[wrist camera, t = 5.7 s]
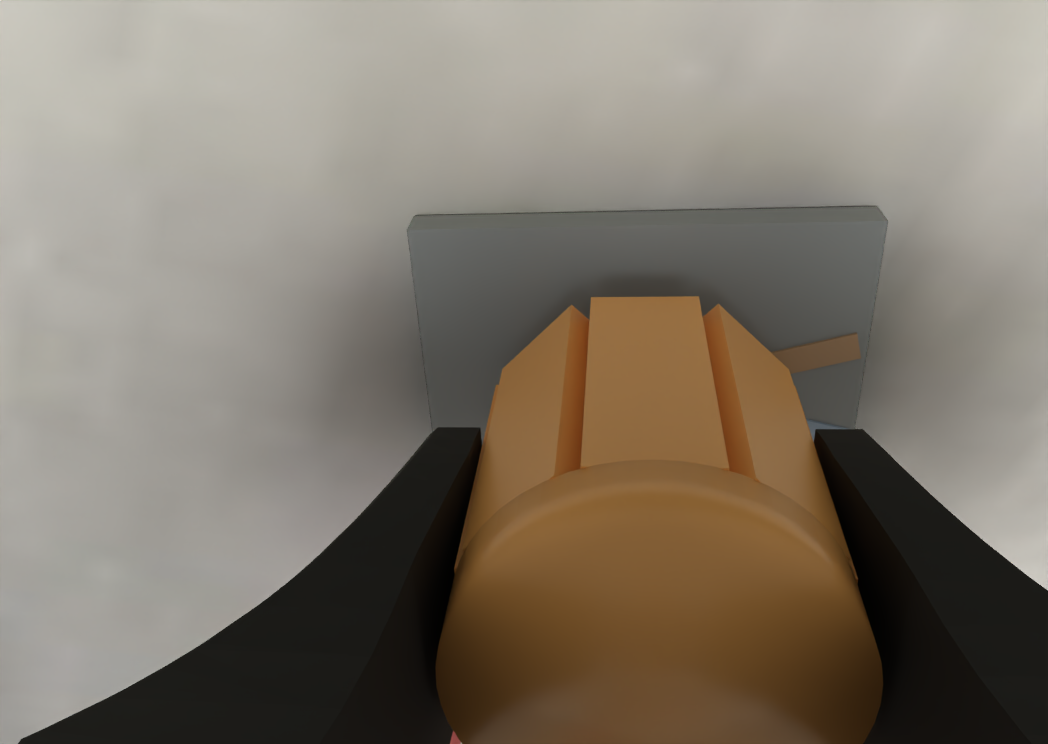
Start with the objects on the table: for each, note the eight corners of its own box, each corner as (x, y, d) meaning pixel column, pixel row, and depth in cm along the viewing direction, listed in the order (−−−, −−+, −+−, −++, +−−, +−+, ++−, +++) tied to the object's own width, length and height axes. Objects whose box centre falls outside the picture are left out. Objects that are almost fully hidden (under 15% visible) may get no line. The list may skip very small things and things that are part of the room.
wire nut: (502, 539, 15) (455, 817, 11) (481, 291, 13) (411, 519, 8) (782, 545, 15) (850, 839, 10) (813, 288, 12) (919, 529, 8)
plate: (449, 507, 17) (418, 631, 14) (414, 216, 14) (367, 302, 11) (830, 512, 16) (873, 642, 14) (877, 206, 13) (944, 297, 11)
